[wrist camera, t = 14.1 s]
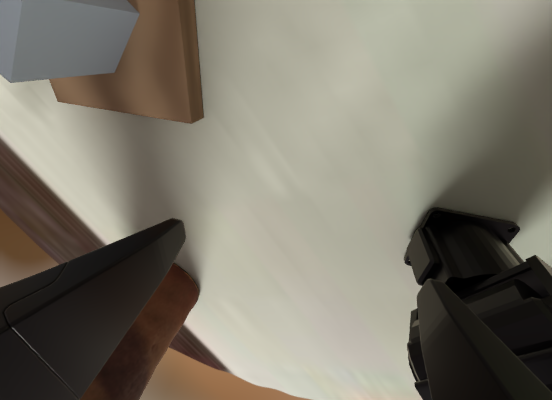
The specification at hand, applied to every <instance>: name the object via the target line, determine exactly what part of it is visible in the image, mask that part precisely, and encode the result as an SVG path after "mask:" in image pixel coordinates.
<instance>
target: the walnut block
mask: <svg viewBox="0 0 552 400" xmlns="http://www.w3.org/2000/svg"><path fill="white" fill-rule="evenodd" d="M127 1H128V2H129V3H130V4H131V5H132V6H133V7H134V8H135V9H136V10H137V11H138V12H139V13H140V14H139V17H138V19H137V21H136V24H135V26H134V28H133V31H132V33H131V35H130V38H129V40H128V42H127V45H126V47H125V49H124V52H123V54H122V56H121V59H120V61H119V63H118V66H117V68H116V70H115V73H106V74H95V75H85V76H75V77H65V78H54V79H49V80H50V83H51V85H52V88H53V90H54V93H55V96H56V98H57V101H58V102H63V103H69V104H75V105H81V106H87V107H93V108H99V109H105V110H112V111H118V112H124V113H130V114H136V115H142V116H148V117H154V118H160V119H166V120H172V121H178V122H185V123H191V124H192V123H194V122H196V121H198V120H200V119H202V118H204V117H203V105H202V92H201V80H200V67H199V55H198V42H197V30H196V17H195V4H194V0H127Z"/></svg>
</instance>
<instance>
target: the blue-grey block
mask: <svg viewBox="0 0 552 400" xmlns="http://www.w3.org/2000/svg"><path fill="white" fill-rule="evenodd" d="M139 14H140V13H139V12H138V11H137V10H136V9H135V8H134V7H133V6H132V5H131V4H130V3H129V2H128V1H127V0H0V74H1V75H2V76H3V77H4V78H5V79H6V80H8V81H9V82H10V83H13V82H24V81H34V80H44V79H54V78H65V77H75V76H85V75H95V74H106V73H115V70H116V68H117V66H118V63H119V61H120V59H121V56H122V54H123V52H124V49H125V47H126V45H127V42H128V40H129V38H130V35H131V33H132V31H133V28H134V26H135V24H136V21H137V19H138V17H139Z"/></svg>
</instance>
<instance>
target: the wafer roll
mask: <svg viewBox="0 0 552 400" xmlns="http://www.w3.org/2000/svg"><path fill="white" fill-rule="evenodd" d="M198 297H199V291H198V288H197V286H196V284H195V283H194V281H193V280H192V278H191V277H190V276H189V275H188V274H187V273H186V272H184V271H183V270H182V269H181V268H180V267H179V266H177V265H176V264H174V263H173V264H172V266H171V267H170V269H169V271H168V273H167V274H166V276H165V277H164V279H163V280H162V282H161V283H160V285H159V286H158V288H157V289H156V291H155V292H154V293H153V295H152V296H151V298H150V299H149V301H148V302H147V304H146V305H145V306H144V308H143V309H142V311H141V312H140V314H139V315H138V317H137V318H136V319H135V321H134V322H133V324H132V325H131V327H130V328H129V330H128V331H127V332H126V334H125V335H124V337H123V338H122V340H121V341H120V343H119V344H118V345H117V347H116V348H115V350H114V351H113V353H112V354H111V356H110V357H109V358H108V360H107V361H106V363H105V364H104V366H103V367H102V369H101V370H100V371H99V373H98V374H97V376H96V377H95V379H94V380H93V382H92V383H91V384H90V386H89V387H88V389H87V390H86V392H85V393H84V395H83V396H82V397H81V398H80V400H139V399H140V397H141V395H142V393H143V391H144V389H145V388H146V386H147V384H148V382H149V380H150V378H151V376H152V374H153V372H154V370H155V368H156V366H157V365H158V363H159V361H160V360H161V358H162V357H163V355H164V354H165V352H166V351H167V348H168V347H169V345H170V343H171V341H172V340H173V338H174V336H175V335H176V334H177V332H178V331H179V330H180V328H181V327H182V325H183V323H184V321H185V320H186V318H187V316H188V314H189V312H190V311H191V309H192V308H193V307H194V305H195V304H196V302H197V300H198Z"/></svg>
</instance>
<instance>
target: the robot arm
mask: <svg viewBox="0 0 552 400" xmlns="http://www.w3.org/2000/svg"><path fill="white" fill-rule="evenodd" d="M434 213H438V214H437V215H433V214H434ZM512 227H513V228H512ZM509 228H511V229H509ZM519 230H520V227H519V226H518V225H517V224H516V223H514V222H510V221H505V220H499V219H494V218H489V217H484V216H478V215H473V214H468V213H463V212H457V211H452V210H447V209H442V208H432V209H431V210H430V211H429V212H428V214H427V216H426V218H425V219H424V221H423V223H422V225H421V227H420V228H418V229H417V230H416V232H415V234H414V236H413V238H412V239H411V241H410V243H409V245H408V247H407V253H406V255H405V257H404V261H405V264H407V265H409V266H412V269H413V272H414V275H415V279H416V282H417V283H418V285H422V288H421V290H420V291H419V293H418V295H417V307H418V308H417V309H415V310H413V311H411V320H410V334H409V342H408V343H407V350H408V359H409V365H410V368H411V370H412V373H413V376H414V378H415V380H416V382H415V388H416V389H417V391H418V392H419V394H420V396H421V397H422V399H423V400H552V268H551V267H550V266H549V265H548V264H546V263H545V262H544V261H543V260H541V259H540V258H539V257H538V256H536V255H534V256H532V257H530V258H528V259H526V262H524V261H523V260H522V259H521V258H520V256H519V255H518V254H517V253H516V252H515V251H514V249H513V248H512V247H511V246H510V245H509V243H510V242H511V240H512V239H513V238H514V237H515V236H516V234H517V233H518V232H519ZM185 238H186V235H185V229H184V223H183V221H181V220H178V219H173V218H172V219H169V220H167V221H164V222H162V223H159V224H157V225H155V226H152V227H150V228H147V229H145V230H143V231H140V232H138V233H135V234H133V235H131V236H128V237H126V238H123V239H121V240H118V241H116V242H114V243H111V244H109V245H106V246H104V247H102V248H99V249H97V250H94V251H92V252H89V253H87V254H85V255H82V256H80V257H77V258H75V259H72V260H70V261H69V262H65V263H63V264H60V265H58V266H56V267H53V268H51V269H48V270H46V271H43V272H41V273H38V274H36V275H33V276H30V277H28V278H25V279H22V280H20V281H17V282H14V283H11V284H9V285H6V286H3V287H0V400H80V398H81V397H82V396H83V395H84V393H85V392H86V390H87V389H88V387H89V386H90V384H91V383H92V382H93V380H94V379H95V377H96V376H97V374H98V373H99V371H100V370H101V369H102V367H103V366H104V364H105V363H106V361H107V360H108V358H109V357H110V356H111V354H112V353H113V351H114V350H115V348H116V347H117V345H118V344H119V343H120V341H121V340H122V338H123V337H124V335H125V334H126V332H127V331H128V330H129V328H130V327H131V325H132V324H133V322H134V321H135V319H136V318H137V317H138V315H139V314H140V312H141V311H142V309H143V308H144V306H145V305H146V304H147V302H148V301H149V299H150V298H151V296H152V295H153V293H154V292H155V291H156V289H157V288H158V286H159V285H160V283H161V282H162V280H163V279H164V277H165V276H166V274H167V273H168V271H169V269H170V267H171V266H172V264H173V262H174V260H175V258H176V256H177V255H178V253H179V251H180V249H181V247H182V245H183V244H184V242H185ZM408 260H410V261H408Z"/></svg>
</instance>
